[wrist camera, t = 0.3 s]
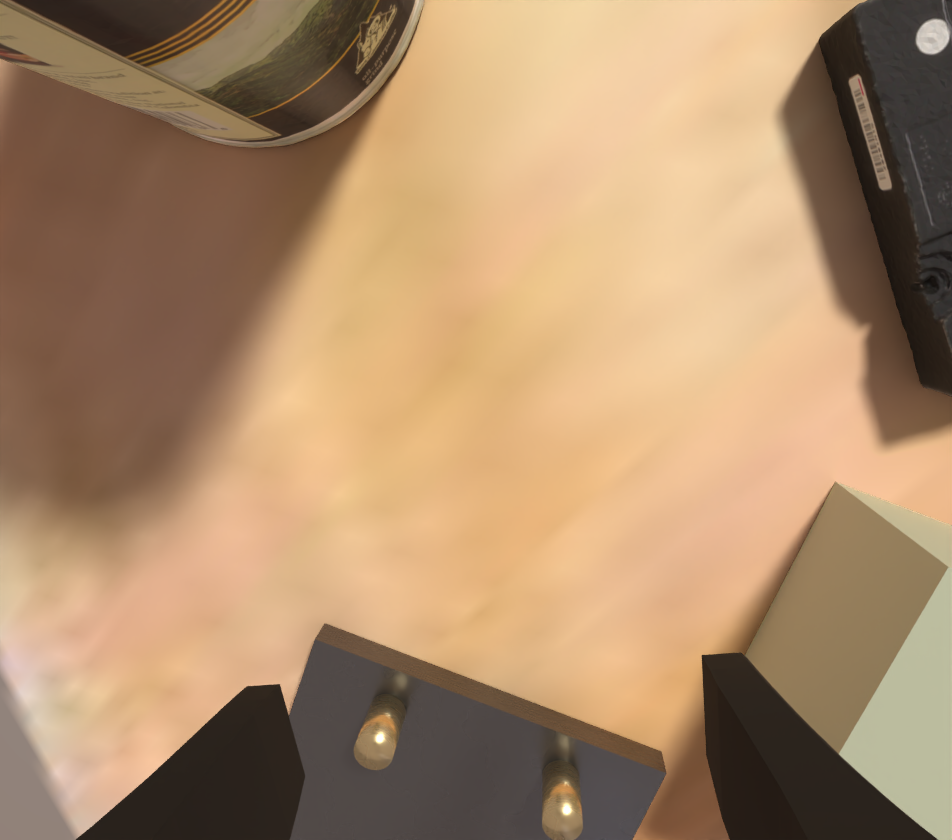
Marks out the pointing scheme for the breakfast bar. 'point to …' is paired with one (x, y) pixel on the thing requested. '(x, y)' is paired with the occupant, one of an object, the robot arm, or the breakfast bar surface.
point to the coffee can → (218, 59)
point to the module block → (871, 647)
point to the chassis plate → (452, 757)
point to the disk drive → (904, 156)
